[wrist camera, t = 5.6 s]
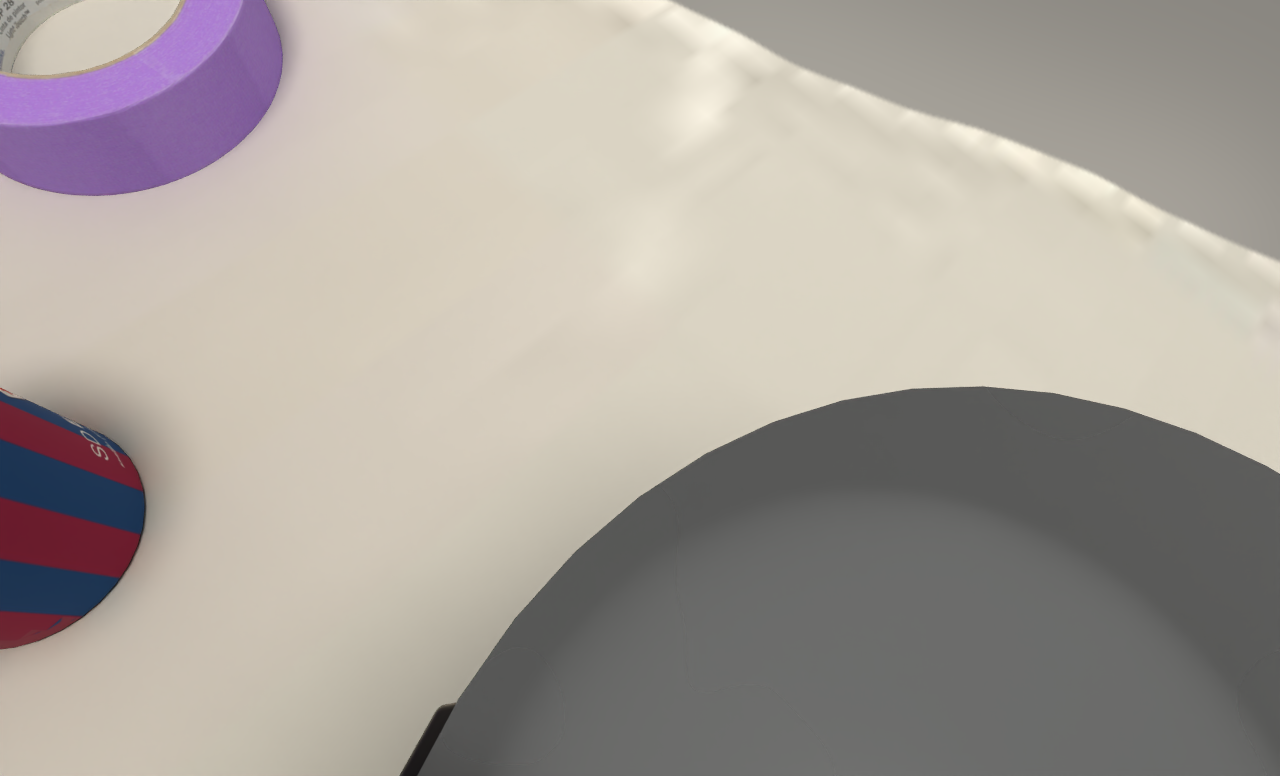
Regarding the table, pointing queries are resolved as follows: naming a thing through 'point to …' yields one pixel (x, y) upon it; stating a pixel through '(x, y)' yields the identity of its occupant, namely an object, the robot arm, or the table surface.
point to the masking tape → (137, 100)
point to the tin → (907, 607)
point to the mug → (60, 519)
